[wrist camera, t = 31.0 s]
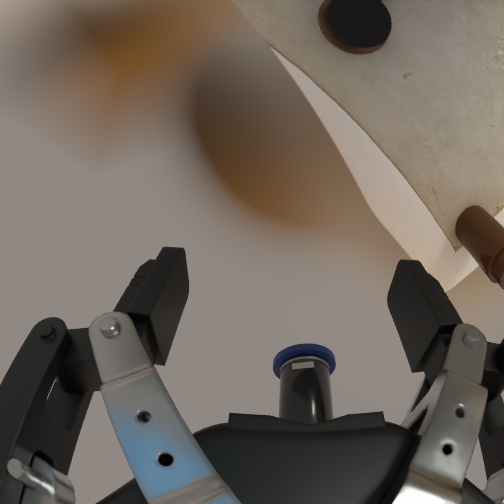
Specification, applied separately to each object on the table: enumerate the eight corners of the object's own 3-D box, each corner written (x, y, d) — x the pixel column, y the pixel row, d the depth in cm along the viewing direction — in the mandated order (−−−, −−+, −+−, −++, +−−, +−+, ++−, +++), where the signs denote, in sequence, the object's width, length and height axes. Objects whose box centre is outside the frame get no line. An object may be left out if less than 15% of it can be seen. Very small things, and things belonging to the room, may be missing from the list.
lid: (334, -15, 20) (338, -20, 18) (391, 10, 21) (399, 7, 19) (316, 34, 24) (319, 32, 22) (373, 57, 25) (380, 58, 23)
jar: (479, 244, 36) (518, 293, 26) (450, 242, 37) (489, 294, 27) (491, 207, 33) (538, 252, 23) (462, 202, 33) (510, 249, 23)
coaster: (386, 60, 25) (388, 60, 25) (317, 48, 26) (317, 47, 25) (387, 1, 21) (389, 0, 21) (318, -13, 21) (319, -15, 21)
